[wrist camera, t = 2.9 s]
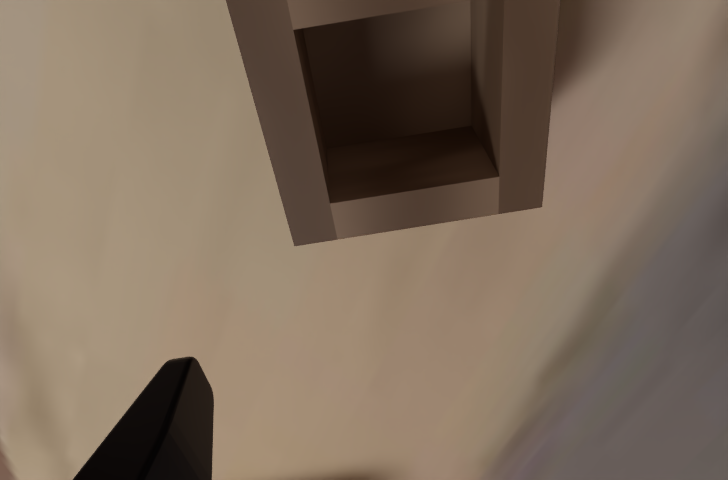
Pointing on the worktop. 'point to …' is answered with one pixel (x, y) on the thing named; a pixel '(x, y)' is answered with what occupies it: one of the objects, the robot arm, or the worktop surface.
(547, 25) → the socket block
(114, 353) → the worktop surface
